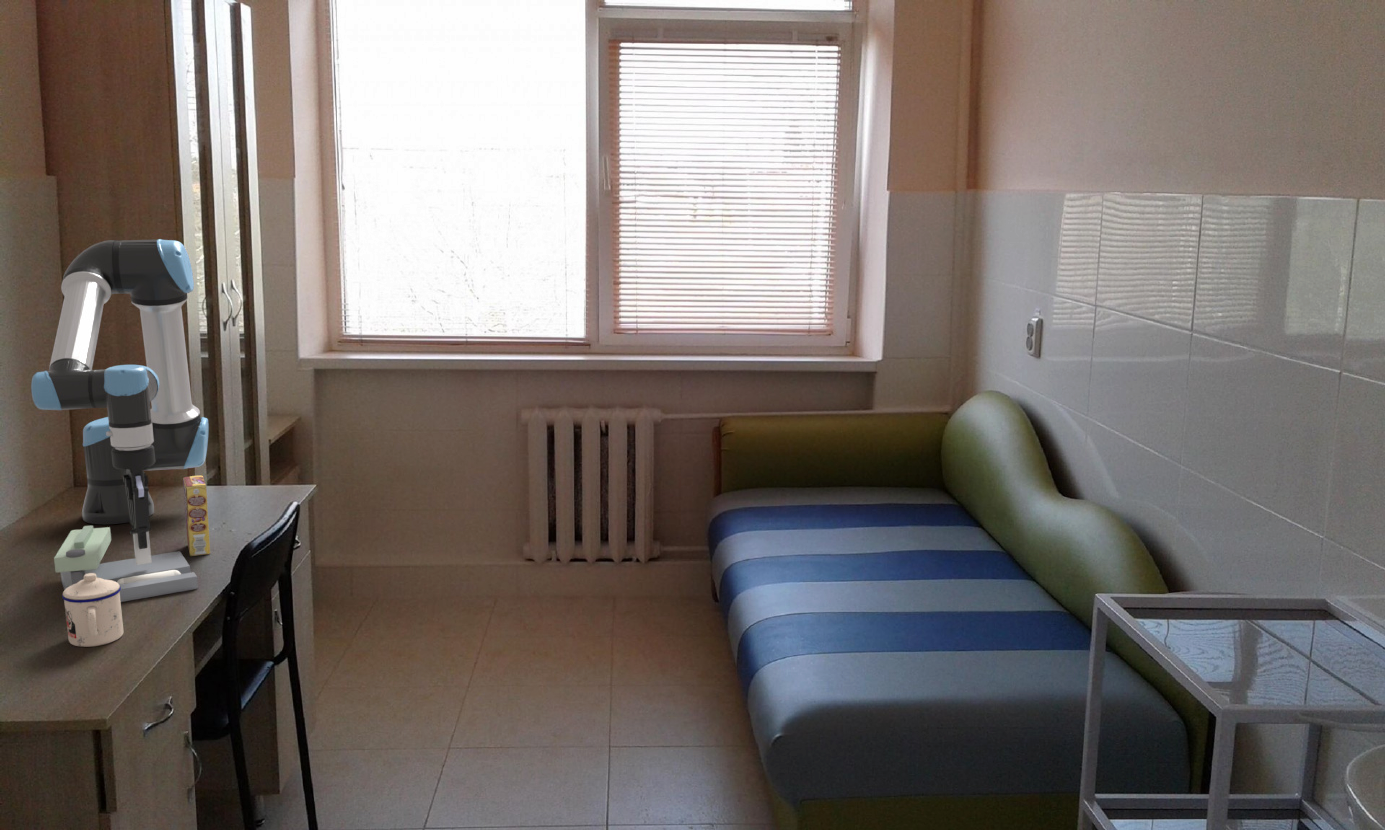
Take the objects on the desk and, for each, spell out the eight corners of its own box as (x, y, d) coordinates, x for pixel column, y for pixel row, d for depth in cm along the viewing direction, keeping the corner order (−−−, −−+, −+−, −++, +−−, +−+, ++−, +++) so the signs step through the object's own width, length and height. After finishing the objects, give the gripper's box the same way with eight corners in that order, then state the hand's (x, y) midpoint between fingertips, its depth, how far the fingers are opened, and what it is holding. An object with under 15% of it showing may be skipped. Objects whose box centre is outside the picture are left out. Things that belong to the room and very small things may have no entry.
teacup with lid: (68, 632, 212) (61, 569, 209) (125, 624, 215) (119, 562, 213) (64, 658, 201) (57, 592, 199) (124, 649, 205) (118, 584, 202)
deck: (61, 581, 237) (58, 553, 236) (180, 562, 248) (178, 535, 247) (71, 610, 222) (68, 580, 221) (197, 588, 233) (195, 559, 232)
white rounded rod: (113, 581, 231) (114, 577, 229) (179, 570, 237) (181, 567, 235) (116, 595, 230) (117, 592, 228) (181, 584, 236) (183, 580, 234)
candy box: (212, 554, 254) (206, 484, 251) (190, 557, 252) (184, 486, 249) (208, 542, 262) (203, 474, 258) (187, 544, 260) (181, 476, 257)
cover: (96, 569, 225) (94, 549, 224) (54, 573, 223) (52, 553, 222) (111, 540, 243) (109, 521, 242) (72, 543, 241) (70, 524, 240)
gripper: (106, 441, 234) (117, 556, 239) (115, 455, 224) (127, 575, 229) (148, 437, 238) (158, 550, 243) (159, 450, 228) (169, 568, 233)
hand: (143, 562), depth 236 cm, fingers closed
